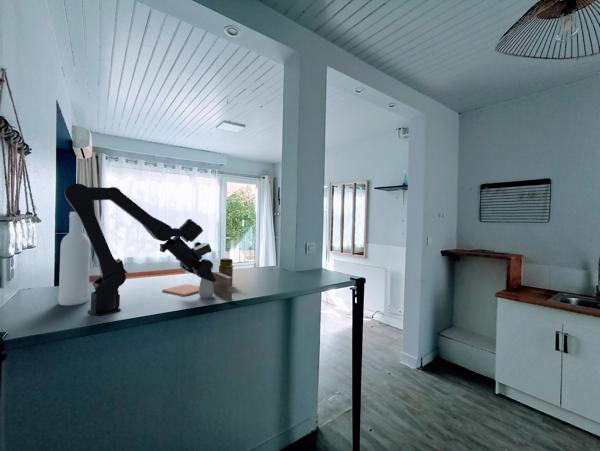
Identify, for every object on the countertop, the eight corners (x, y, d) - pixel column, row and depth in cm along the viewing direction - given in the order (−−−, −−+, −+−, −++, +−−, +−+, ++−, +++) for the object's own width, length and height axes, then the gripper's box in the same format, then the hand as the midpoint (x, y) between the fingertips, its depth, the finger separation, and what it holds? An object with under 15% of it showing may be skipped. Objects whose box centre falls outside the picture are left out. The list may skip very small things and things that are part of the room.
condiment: (233, 284, 131) (234, 258, 130) (232, 288, 122) (234, 260, 122) (216, 284, 129) (217, 257, 129) (215, 288, 121) (216, 260, 121)
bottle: (64, 299, 96) (66, 211, 96) (91, 298, 99) (94, 212, 99) (53, 306, 89) (56, 211, 88) (84, 305, 92) (87, 212, 91)
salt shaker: (209, 299, 104) (210, 264, 104) (194, 298, 105) (196, 263, 105) (216, 295, 110) (218, 262, 109) (203, 294, 111) (204, 261, 111)
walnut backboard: (226, 299, 105) (227, 278, 105) (211, 291, 116) (211, 271, 116) (231, 298, 107) (232, 277, 106) (215, 290, 117) (216, 271, 117)
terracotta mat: (184, 296, 107) (184, 294, 107) (162, 291, 112) (162, 289, 112) (207, 290, 117) (207, 288, 117) (186, 285, 123) (186, 284, 123)
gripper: (208, 237, 97) (236, 267, 105) (189, 233, 111) (214, 260, 119) (184, 261, 92) (215, 290, 100) (167, 254, 106) (195, 280, 114)
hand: (210, 279), depth 108 cm, fingers open, 8 cm apart
